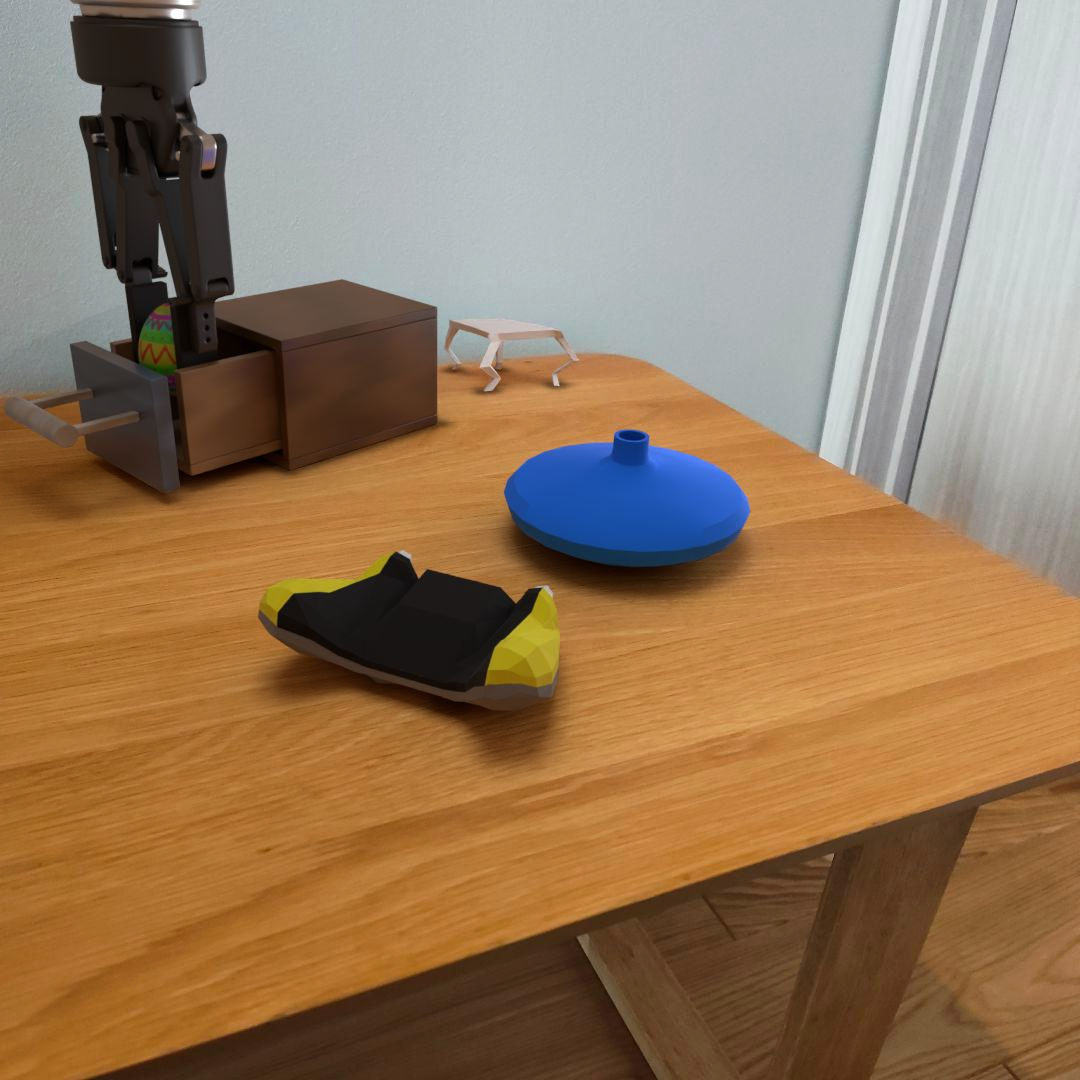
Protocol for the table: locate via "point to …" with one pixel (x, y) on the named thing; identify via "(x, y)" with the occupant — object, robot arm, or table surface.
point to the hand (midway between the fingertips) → (178, 384)
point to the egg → (159, 345)
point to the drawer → (166, 410)
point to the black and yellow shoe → (424, 632)
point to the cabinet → (341, 364)
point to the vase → (626, 503)
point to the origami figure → (501, 332)
